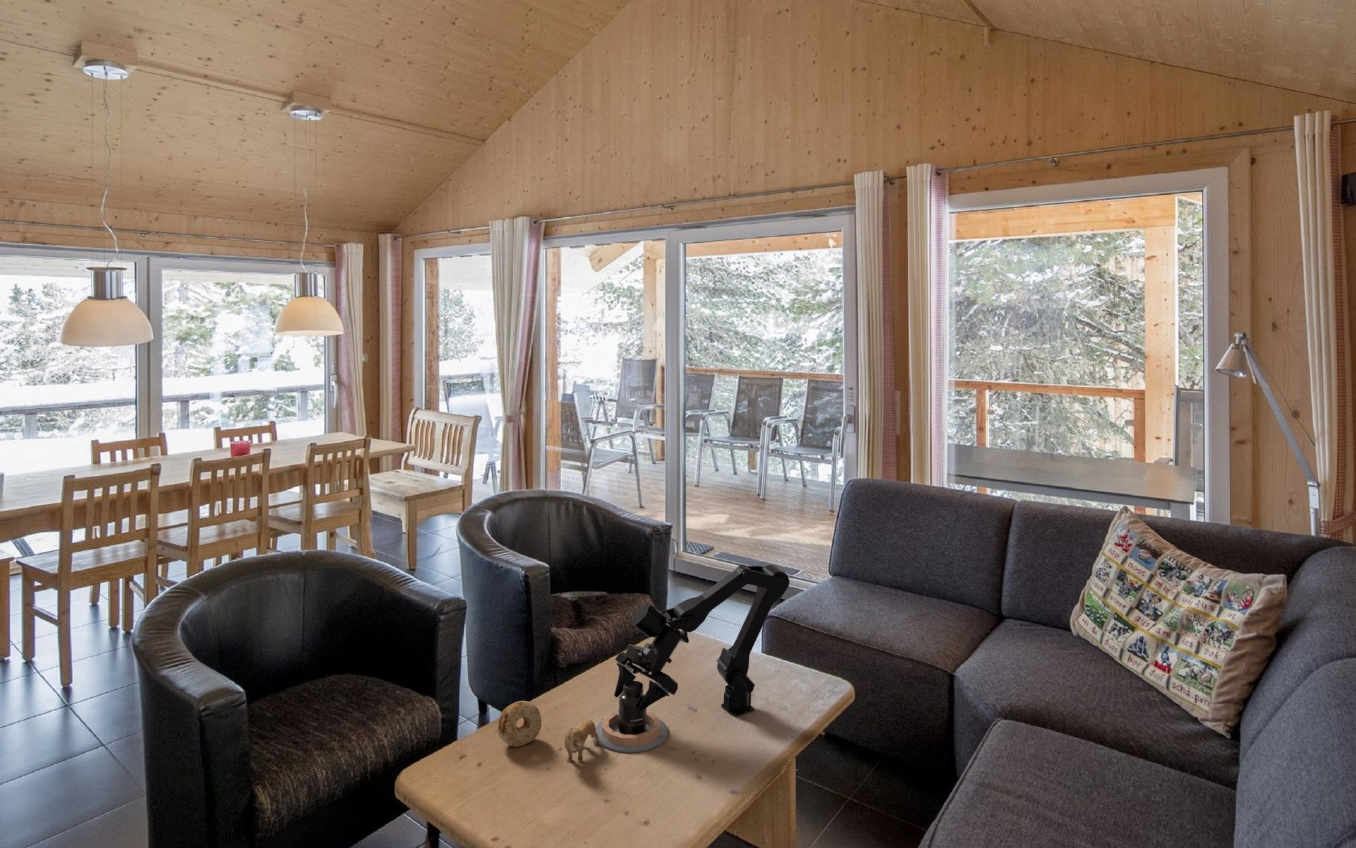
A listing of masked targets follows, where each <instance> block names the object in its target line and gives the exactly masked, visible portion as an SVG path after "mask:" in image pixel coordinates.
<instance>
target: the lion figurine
mask: <svg viewBox="0 0 1356 848" xmlns="http://www.w3.org/2000/svg"><path fill="white" fill-rule="evenodd" d="M589 736H591V737H590V739H595V741H594V743H593V745H595V746H599V745H600V744H599V736H598V734H597V733H596V724H595V722H594V721H592V720H591V719H588V720H585V721H582V723H581V724H580V725H579V727H577V728H576V727H572V728H569V730H567V732H566V734H564V741H563V742H564V748H565V749H566V751H567V755H568V757H567V758H566V762H568V763H571V762H572V761H573V754H576V753H578V754H577V763H580V764H581V763H584V759H583V758H584V757H583V752H584V747H585V744H586V743H585V742H586V741H587V739H588V737H589Z"/></svg>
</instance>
